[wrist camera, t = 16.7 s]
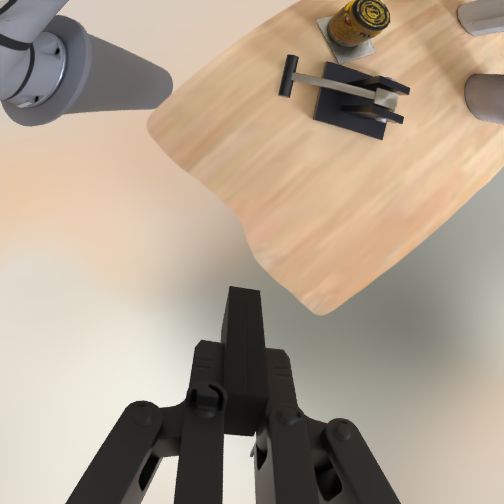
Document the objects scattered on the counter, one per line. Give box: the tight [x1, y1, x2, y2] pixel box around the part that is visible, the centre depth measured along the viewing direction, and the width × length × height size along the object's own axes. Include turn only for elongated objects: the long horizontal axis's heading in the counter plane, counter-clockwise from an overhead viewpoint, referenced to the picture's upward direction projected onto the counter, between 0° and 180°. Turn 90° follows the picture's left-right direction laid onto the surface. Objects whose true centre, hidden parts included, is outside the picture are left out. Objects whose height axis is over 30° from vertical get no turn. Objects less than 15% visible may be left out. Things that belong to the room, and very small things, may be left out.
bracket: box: [313, 61, 410, 140], centre depth 37 cm, size 12×10×14 cm
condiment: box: [316, 0, 390, 64], centre depth 33 cm, size 7×8×12 cm
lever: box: [278, 55, 399, 112], centre depth 34 cm, size 15×6×2 cm, turn 79°
